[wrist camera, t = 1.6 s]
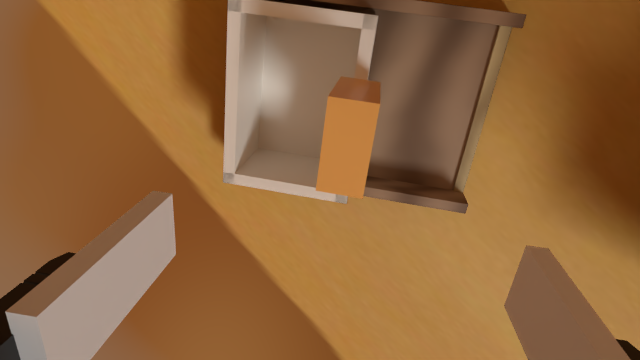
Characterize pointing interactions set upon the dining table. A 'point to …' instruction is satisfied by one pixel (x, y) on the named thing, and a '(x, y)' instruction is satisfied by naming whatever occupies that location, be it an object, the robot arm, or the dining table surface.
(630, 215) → the dining table surface
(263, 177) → the box
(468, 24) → the bay
